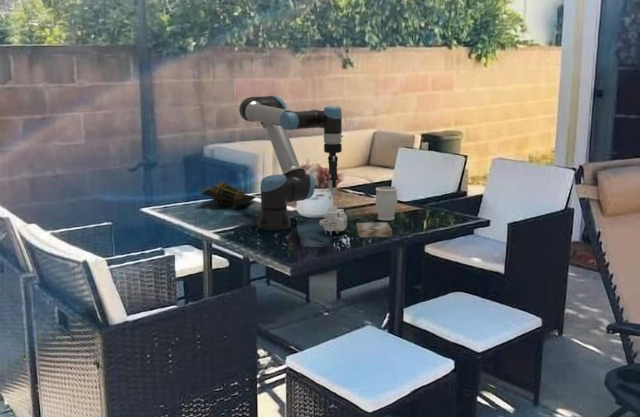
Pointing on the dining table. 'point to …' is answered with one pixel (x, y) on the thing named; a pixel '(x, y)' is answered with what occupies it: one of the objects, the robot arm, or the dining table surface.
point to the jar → (386, 203)
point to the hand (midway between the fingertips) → (332, 192)
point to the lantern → (227, 195)
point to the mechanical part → (334, 220)
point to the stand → (374, 230)
